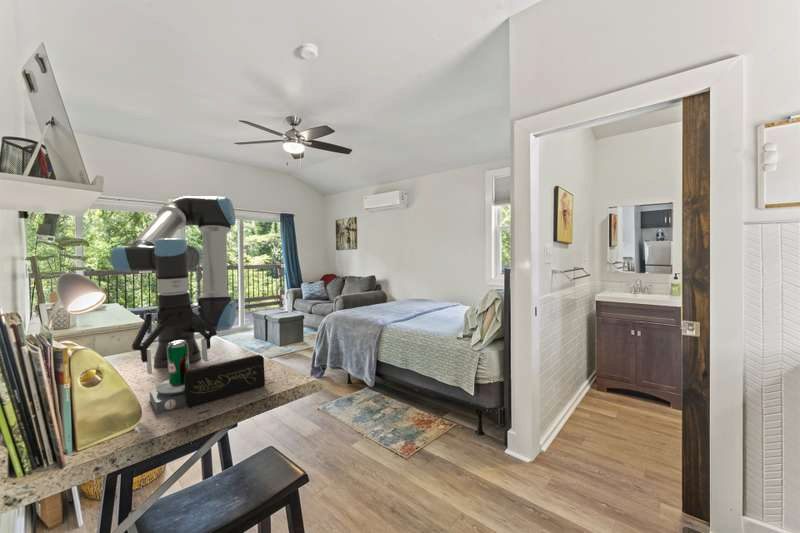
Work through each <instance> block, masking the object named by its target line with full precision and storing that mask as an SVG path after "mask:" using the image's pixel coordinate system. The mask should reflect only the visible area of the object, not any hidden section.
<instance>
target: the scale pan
mask: <svg viewBox="0 0 800 533" xmlns="http://www.w3.org/2000/svg"><path fill="white" fill-rule="evenodd" d="M155 389H156V390H157V393H159V394H164V395H169V394H177V393H182V392H185V384H182V385H176V386H174V385H171V384H170V383H169V379H166V380H164V381H162V382H160V383H159V384H157V386H156V388H155Z"/></svg>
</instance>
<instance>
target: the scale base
mask: <svg viewBox="0 0 800 533" xmlns="http://www.w3.org/2000/svg"><path fill="white" fill-rule="evenodd" d="M149 401H150V403H151V405H152V407H153V409H154V410H155V412H156V414H157V415H159V414H161V413H164V412H168V411H171V410H174V409H178V408H181V407H184V406H187V405H186V397H185V392H182V393H177V394H169V395H164V394H159V393H157V390H156V388H152V389H149Z"/></svg>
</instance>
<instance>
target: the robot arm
mask: <svg viewBox="0 0 800 533" xmlns="http://www.w3.org/2000/svg"><path fill="white" fill-rule="evenodd" d="M235 225H236V214H235V208H234V206H233V203H232V200H231V199H230V198H228V197H225V196H205V195H204V196H203V195H202V196H199V195H197V196H196V195H195V196H193V195H187V196H181V197H178V198H175V199H173V200H171V201H169V202H167V203H166V204H164V205H163V206H162V207H161V208H160V209H159V210H158V211H157V214H156V217H155V218H154V220H152V221H151V223H150V224H149V225H148V226H147V227H146V228H145V229H144V230H143V231H142V232H141V233H140V234H139V235H138V236H137V237H136V238H135V240H134V241H133V242H131V244H129V245H128V246H127V245H122V246H116V247H114V248H112V250H111V252H110V255H109V257H110V263H111V266H112V268H113V270H115V271H118V272H130V273H133V272H146V271H147V272H151V271H156V273H155V274H156V288H157V290H156V291H157V293H158V294H159V295H158V296H157V304H158V306H157V307H156V313H155V312H153V313H150V312H146V313H144V321H143V323H142V325H141V327H140V329H139V330H138V333H137V335H136V337H135V338H134V341H133V342H132V345H131V348H132V350H133V351H140V360H141V362H142V363H146V373H147V374H148V375H152V374H153V368H152V366H155V367H157V368H168V358H167V346H168V343H169V342H172V341H176V340H186V343H187V344H188V354H189V364H191V363H194V362H196V361H198V360H200V359H202V360H203V362H208V360H209V359H208V358H209V357H208V350H210V349H211V348H212V347H211V339H212V337H214V336H217V333H218V332H222V331H229V330H231V329H232V327H233V326H234V324H235V322H236V321H235V320H236V317H237V316H236V315H237V302H236V300H232V295H231V294H230V293H228V249H227V248H228V236H227V235H228V234H229V233H230V232H231V231H232V228H231V227H233V226H235ZM188 226H198V227H197V228H198V230H199V231H200V233H202V252H201V251H200V250H199V248H198V247H196V246H194V245H190V244H187V240H186V239H184V238H173V236H174V235H175V234H176V233H177V232H178V231H179V230H180V229H183V228H185V227H188ZM201 262H202V292H201V293H202V294H200V296H198V299H197V302H193V299H192V298H191V297H190V293H189V292H188V291H189V290H190V282H189V281H190V279H189V270H192V269H194V268H197V267H198V266H199V265H200V264H201ZM155 319H156V327H155V328H154V329H153V331H152V332H151V333H150V334H149V335H148V336H147V338H146V339H145V340H144V338H145V336H146V335H147V332H148V330H149V328H150V326H151V324H152V322H154V321H155ZM197 333H199V334H200V335H201V336H202V338H200V339H201V349H200V347H199V345H198V342H197V341H196V336H195V334H197ZM156 339H157V342H158V344H157V347H156V352H155V353H154V357H153V365H152V355H151V354H152V353H151V348H149V347H150V346H151V345H152V344H153V343H154V342H155V340H156ZM143 340H144V341H143ZM142 342H143V343H142Z"/></svg>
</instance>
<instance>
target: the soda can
mask: <svg viewBox="0 0 800 533" xmlns="http://www.w3.org/2000/svg"><path fill="white" fill-rule="evenodd" d="M167 358H168V367H167V372H168V380H169V383H170V384H171V385H174V386H176V385H182V384H185V381H184V374H185V372H186V371H189V370H190V363H189V354H188V344H187V343H186V340H176V341H172V342H169V343H168V346H167Z"/></svg>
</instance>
